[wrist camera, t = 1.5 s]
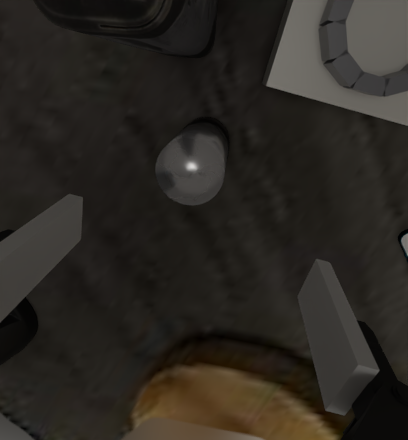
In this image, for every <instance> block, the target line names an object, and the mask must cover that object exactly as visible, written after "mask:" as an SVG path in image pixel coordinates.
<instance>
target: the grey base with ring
mask: <svg viewBox="0 0 408 440" xmlns="http://www.w3.org/2000/svg"><path fill="white" fill-rule="evenodd" d="M262 84H263V85H265V86H268V87H272V88H276V89H279V90H283V91H286V92H290V93H293V94H297V95H300V96H304V97H307V98H311V99H315V100H318V101H322V102H325V103H329V104H332V105H336V106H339V107H343V108H346V109H350V110H354V111H357V112H361V113H364V114H368V115H371V116H375V117H378V118H382V119H385V120H389V121H393V122H396V123H400V124H403V125H407V126H408V0H287V4H286V7H285V10H284V13H283V16H282V20H281V23H280V26H279V29H278V33H277V36H276V39H275V42H274V46H273V49H272V52H271V55H270V58H269V62H268V65H267V68H266V71H265V75H264V78H263V81H262Z"/></svg>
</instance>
